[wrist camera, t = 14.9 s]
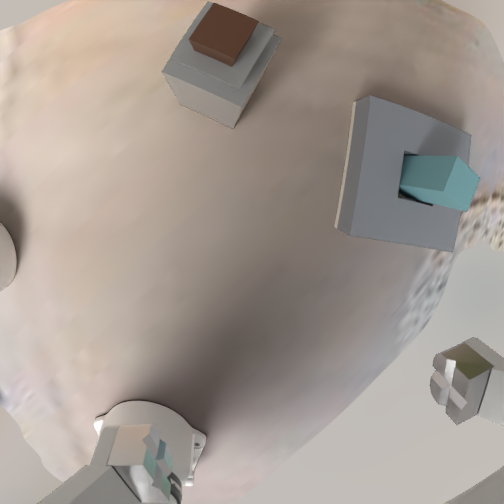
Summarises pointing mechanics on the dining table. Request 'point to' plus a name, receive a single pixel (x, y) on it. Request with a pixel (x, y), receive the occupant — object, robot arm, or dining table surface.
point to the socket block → (395, 175)
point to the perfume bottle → (220, 62)
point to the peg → (438, 181)
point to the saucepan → (6, 258)
